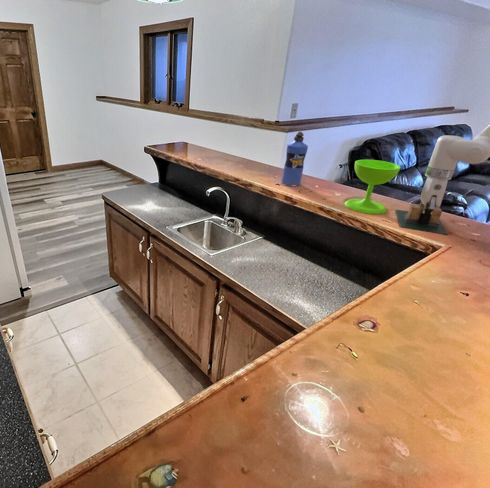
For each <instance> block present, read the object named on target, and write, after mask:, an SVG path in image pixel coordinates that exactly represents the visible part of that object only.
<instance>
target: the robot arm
mask: <svg viewBox="0 0 490 488" xmlns="http://www.w3.org/2000/svg"><path fill="white" fill-rule="evenodd" d="M489 158H490V124H488V126H486V127H485V128H483V129H482V131H480V132H479V133H478V134H477V135H475V137H473V139H465V138H464V137H462V136H458V135H445V134H444V135H441V136H439V137H438V138H437V140H436V143H435V145H434V149H433V151H432V154H431V157H430V160H429V161H428V165H427V168H426V171H425V173H424V176H425V177H426V179H425V182H424V184H423V188H422V190H421V193H420V197H419V199H420V203H419V205H424V208H423V211H422V213H421V214H420V217H419V219H418V224H424V225H428V223H429V221H430V218H431V215H432V212H433V209H434V207H437V208H438V207H439V208H441V206H442V202H443V199H444V195H445V193H446V189H447V185H448V182H449V180H452V177H453V175H454V172H455V170H456V168H457V165H458V162H463V163H465V164H471V165H478V164H482V163H484V162H485V161H487V160H488V159H489ZM426 207H428V208H427V209H426Z"/></svg>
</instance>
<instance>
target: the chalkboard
mask: <svg viewBox="0 0 490 488" xmlns="http://www.w3.org/2000/svg"><path fill="white" fill-rule="evenodd" d="M408 211H409V210H402V209H395V215H396V219H397V223H398V226H399V228H401V229H408V230H413V231H417V232H419V231H420V232H425V233H432V234H437V235H442V236H443V235H444V236H449V234H448V232H447V230H446V228H445V227H444V225H443V223H442V221H441V220H440V218H439V221H438V222H439V227H438V228H437V227H431V226H424V225H418V224H412V223H406V222H405V219H404V217H405V214H408Z"/></svg>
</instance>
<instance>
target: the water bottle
mask: <svg viewBox="0 0 490 488" xmlns="http://www.w3.org/2000/svg"><path fill="white" fill-rule="evenodd" d="M294 135H295V136H294V138H293V141H292V142H289V143H288V144H287V145H286V157H285V158H286V159H285V163H284V166H283V170H282V177H281V182H282V183H283V184H286V185H300V186H301V183H302V177H303V172H304V163H305V158H306V155H307V153H308V149H309V145H308V144H306V143H304V138H305V137H304V135H305V134H304V132H303V131H297V132H296V133H295V134H294ZM282 183H281V184H282ZM283 184H282V185H283ZM286 185H285V186H286Z"/></svg>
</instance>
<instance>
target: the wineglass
mask: <svg viewBox="0 0 490 488" xmlns="http://www.w3.org/2000/svg"><path fill="white" fill-rule="evenodd" d="M401 168H402V167H401V166H400V165H399V164H398V163H397V164H396V163H394V162H389V161H385V160H377V159H358V160H355V161H354V172H355V174H356V176H357V178H358V179H359V180H360V181H361V182H363V183H365V184H367V185H368V186H367V190H366V193H365V197H364V198H351V199H348V200H346V201H345V202H344V204H345V205H344V204H343V205H344V206H345V208H347V207H348V208H347V209H349V210H351V211H354V212H358V213H362V214H369V215H383V214H386V213H387V211H388V210H387V207H386V206H385V205H383V204H382V203H380V202H377V201H374V200H371V197H372V194H373V190H374V187H375V186H377V185H378V186H379V185H383V184H386V183H388V182H390V181H392V180H393V179H395V177H396V176H397V175H398V174H399V173H400V170H401Z"/></svg>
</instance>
